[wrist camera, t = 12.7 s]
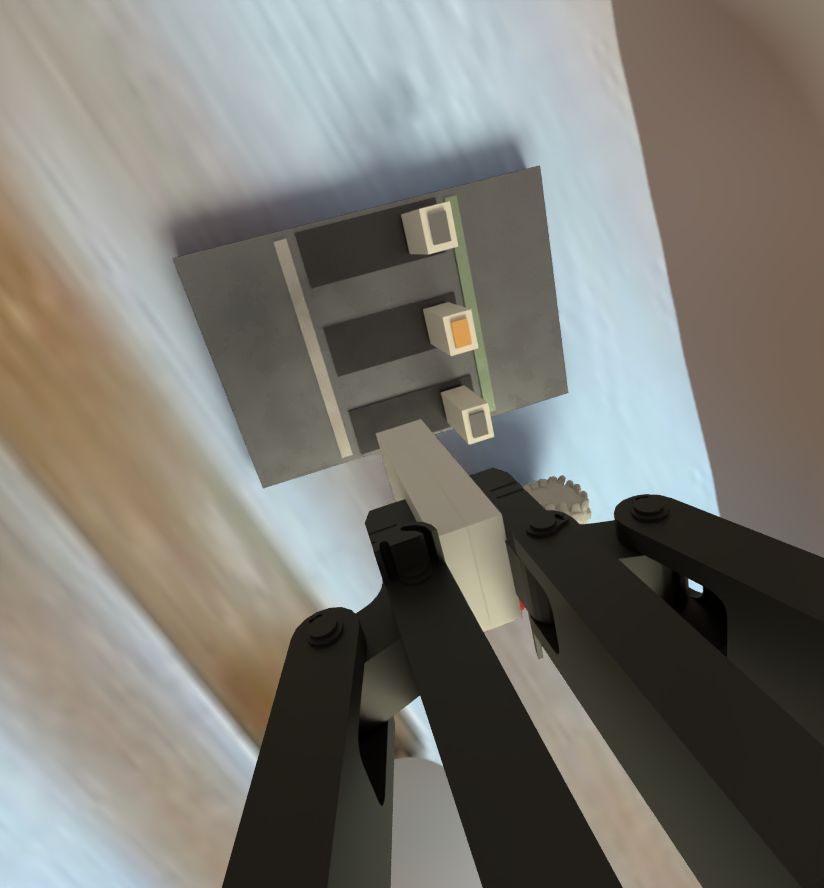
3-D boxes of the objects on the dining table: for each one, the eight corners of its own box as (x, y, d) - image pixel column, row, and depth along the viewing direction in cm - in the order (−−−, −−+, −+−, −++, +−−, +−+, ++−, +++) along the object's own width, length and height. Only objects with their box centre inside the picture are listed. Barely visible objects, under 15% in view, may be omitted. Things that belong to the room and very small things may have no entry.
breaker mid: (430, 343, 36) (451, 357, 32) (422, 309, 35) (443, 317, 31) (455, 336, 36) (479, 348, 32) (448, 302, 36) (472, 309, 31)
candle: (563, 462, 44) (505, 597, 50) (439, 442, 41) (393, 590, 47) (622, 524, 37) (545, 676, 42) (475, 506, 33) (414, 674, 39)
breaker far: (447, 422, 39) (469, 445, 34) (440, 392, 38) (462, 411, 33) (470, 415, 39) (495, 437, 34) (464, 385, 38) (488, 403, 33)
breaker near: (409, 253, 34) (429, 254, 29) (400, 214, 33) (419, 208, 28) (435, 247, 34) (459, 246, 30) (427, 207, 33) (450, 200, 29)
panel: (264, 477, 39) (262, 489, 37) (178, 257, 33) (171, 258, 31) (555, 386, 42) (569, 393, 40) (527, 169, 36) (541, 164, 34)
